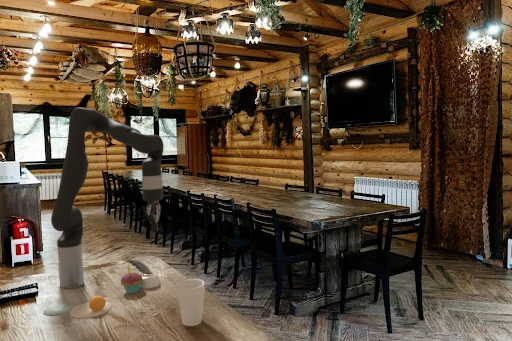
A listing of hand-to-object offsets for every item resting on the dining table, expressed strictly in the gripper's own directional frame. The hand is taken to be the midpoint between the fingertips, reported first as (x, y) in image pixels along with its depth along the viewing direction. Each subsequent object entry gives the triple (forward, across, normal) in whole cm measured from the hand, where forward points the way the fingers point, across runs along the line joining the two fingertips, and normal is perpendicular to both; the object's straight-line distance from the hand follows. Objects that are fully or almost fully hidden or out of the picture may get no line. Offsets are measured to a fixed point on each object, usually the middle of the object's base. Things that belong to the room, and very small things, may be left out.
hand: (154, 231), depth 161 cm
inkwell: (+25, +12, +11) cm, 30 cm away
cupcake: (+25, +4, +12) cm, 28 cm away
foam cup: (+25, -23, -18) cm, 39 cm away
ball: (+22, -15, +18) cm, 32 cm away
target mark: (+25, -14, +21) cm, 35 cm away
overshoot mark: (+25, -14, +33) cm, 43 cm away
